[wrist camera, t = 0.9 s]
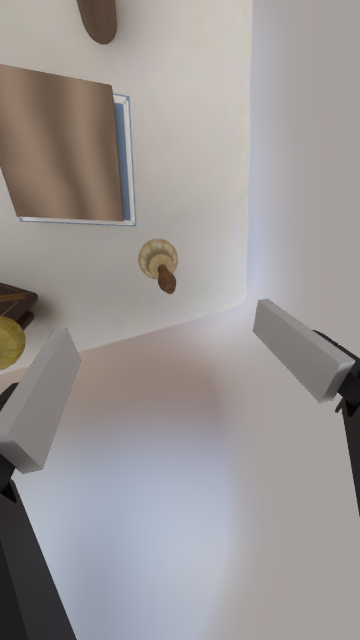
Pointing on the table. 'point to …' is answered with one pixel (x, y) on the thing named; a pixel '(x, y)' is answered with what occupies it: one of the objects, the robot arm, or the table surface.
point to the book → (13, 322)
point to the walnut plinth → (59, 146)
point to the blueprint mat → (125, 170)
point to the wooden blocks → (99, 19)
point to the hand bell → (159, 263)
